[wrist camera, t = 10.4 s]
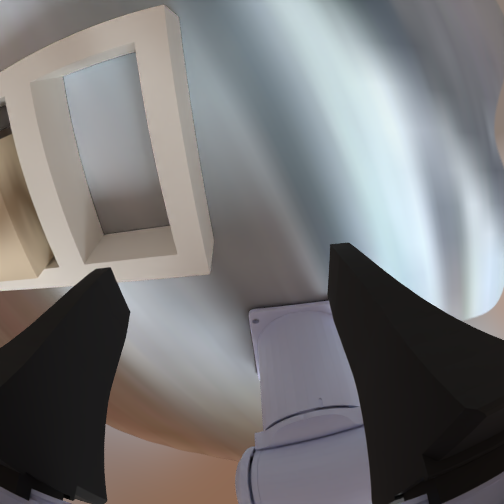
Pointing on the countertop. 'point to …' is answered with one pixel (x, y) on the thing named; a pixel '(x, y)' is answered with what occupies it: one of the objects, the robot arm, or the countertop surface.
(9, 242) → the beige boxy piece
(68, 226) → the white open frame
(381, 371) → the robot arm
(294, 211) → the countertop surface
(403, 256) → the countertop surface
